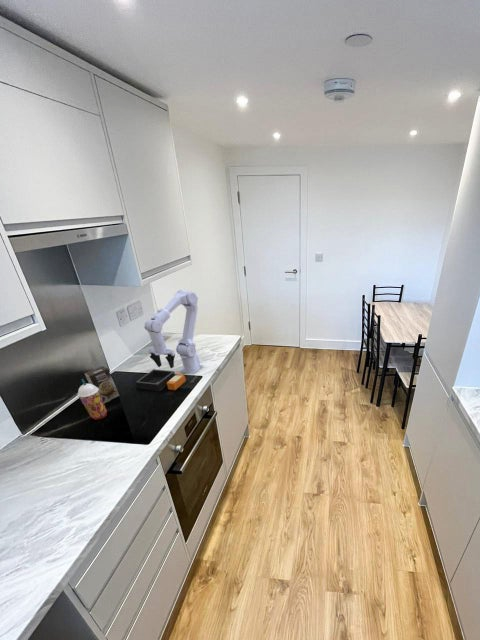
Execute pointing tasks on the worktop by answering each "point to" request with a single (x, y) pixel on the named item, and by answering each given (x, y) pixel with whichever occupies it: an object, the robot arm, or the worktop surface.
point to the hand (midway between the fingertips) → (166, 366)
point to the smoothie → (92, 400)
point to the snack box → (176, 382)
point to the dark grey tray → (155, 380)
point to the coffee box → (103, 383)
